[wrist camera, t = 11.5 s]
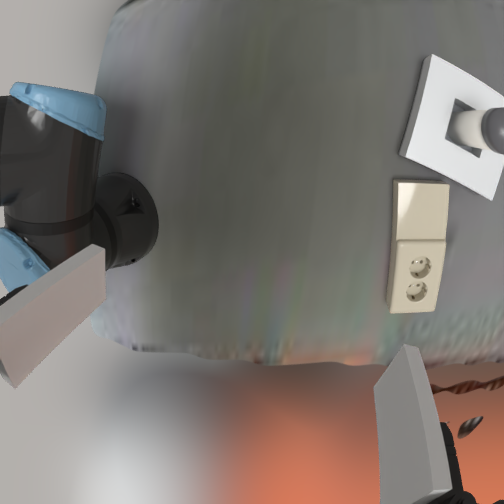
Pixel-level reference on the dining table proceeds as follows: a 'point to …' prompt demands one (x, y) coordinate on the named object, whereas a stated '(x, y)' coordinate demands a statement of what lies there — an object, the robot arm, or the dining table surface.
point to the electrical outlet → (417, 244)
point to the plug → (478, 129)
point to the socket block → (436, 123)
